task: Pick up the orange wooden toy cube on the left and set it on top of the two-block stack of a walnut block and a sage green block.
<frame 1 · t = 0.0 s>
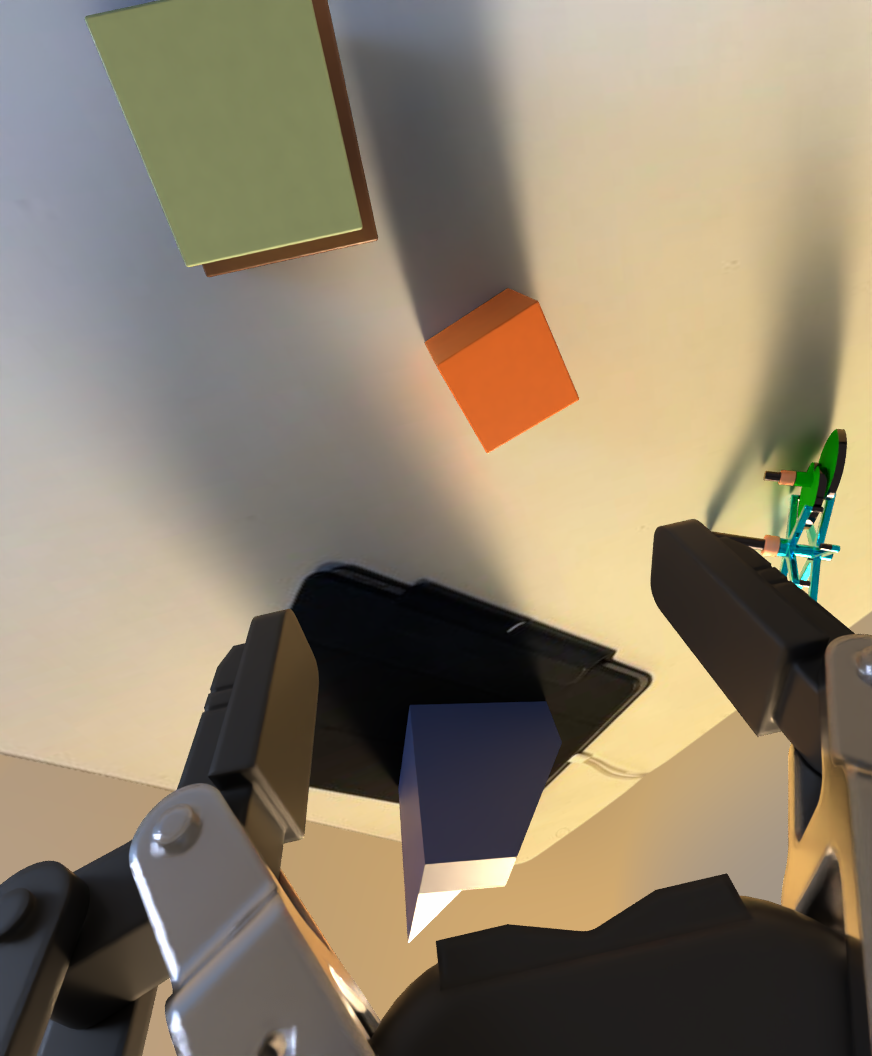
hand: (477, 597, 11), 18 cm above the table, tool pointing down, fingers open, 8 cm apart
stick construction toy: (760, 503, 34), on the table
walnut block: (276, 161, 21), on the table, touching green block
toy cube: (487, 357, 26), on the table
phone stand: (468, 744, 45), on the table
green block: (259, 149, 17), point 4 cm above the table, touching walnut block
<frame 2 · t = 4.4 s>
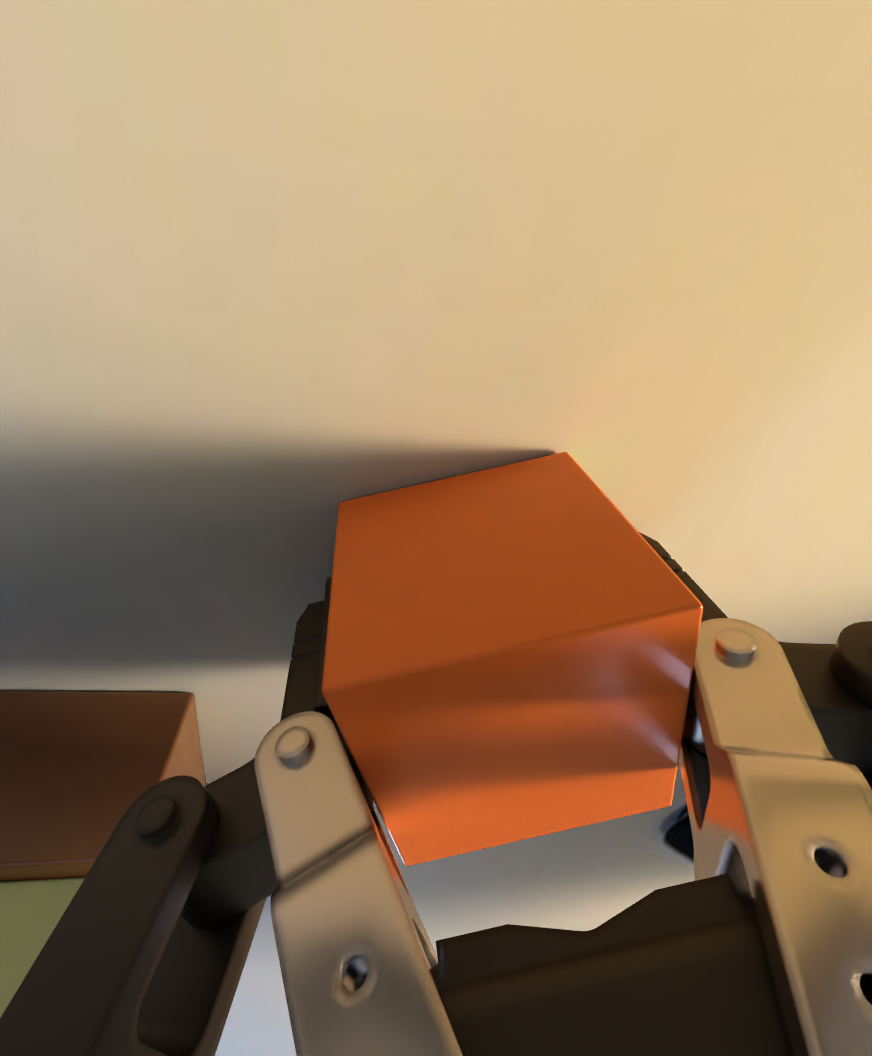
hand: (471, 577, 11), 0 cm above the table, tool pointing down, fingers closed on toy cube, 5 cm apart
walnut block: (72, 773, 14), on the table, touching green block
toy cube: (469, 567, 12), on the table, touching gripper
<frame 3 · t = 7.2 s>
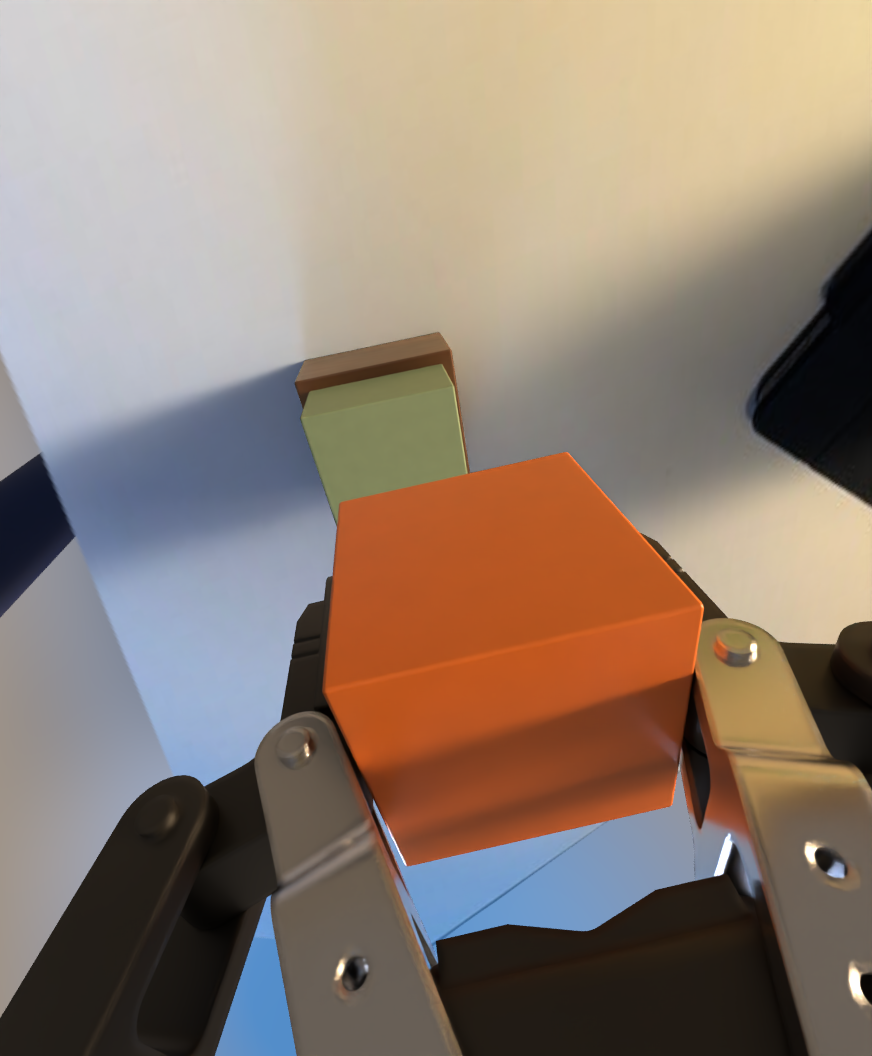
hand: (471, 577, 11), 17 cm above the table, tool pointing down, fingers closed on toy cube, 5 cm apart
walnut block: (387, 412, 26), on the table, touching green block
toy cube: (469, 567, 12), point 17 cm above the table, touching gripper
green block: (390, 439, 23), point 4 cm above the table, touching walnut block
when the fingers open (8 cm above the table, at t = 9.9 s): toy cube stays where it is, resting on green block.
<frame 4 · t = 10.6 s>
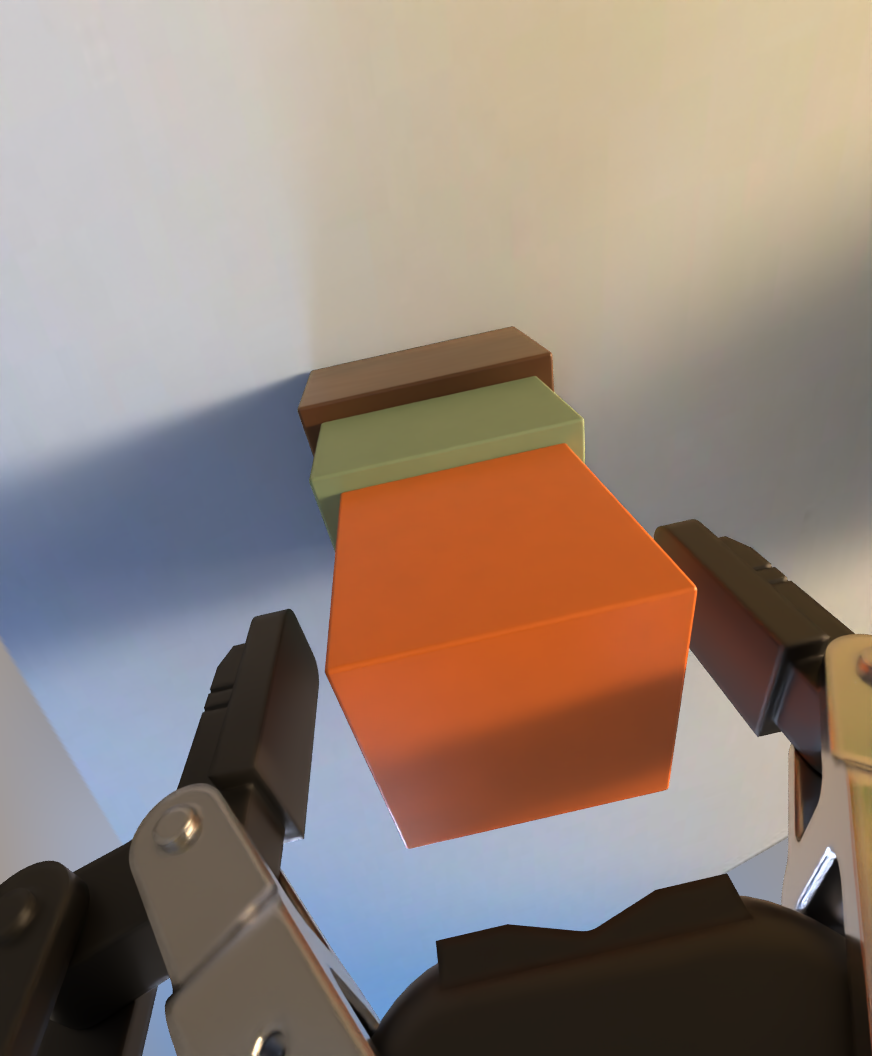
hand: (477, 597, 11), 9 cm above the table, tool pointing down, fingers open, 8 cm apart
walnut block: (431, 443, 18), on the table, touching green block
toy cube: (469, 557, 12), point 8 cm above the table, touching green block
green block: (446, 493, 15), point 4 cm above the table, touching toy cube, walnut block
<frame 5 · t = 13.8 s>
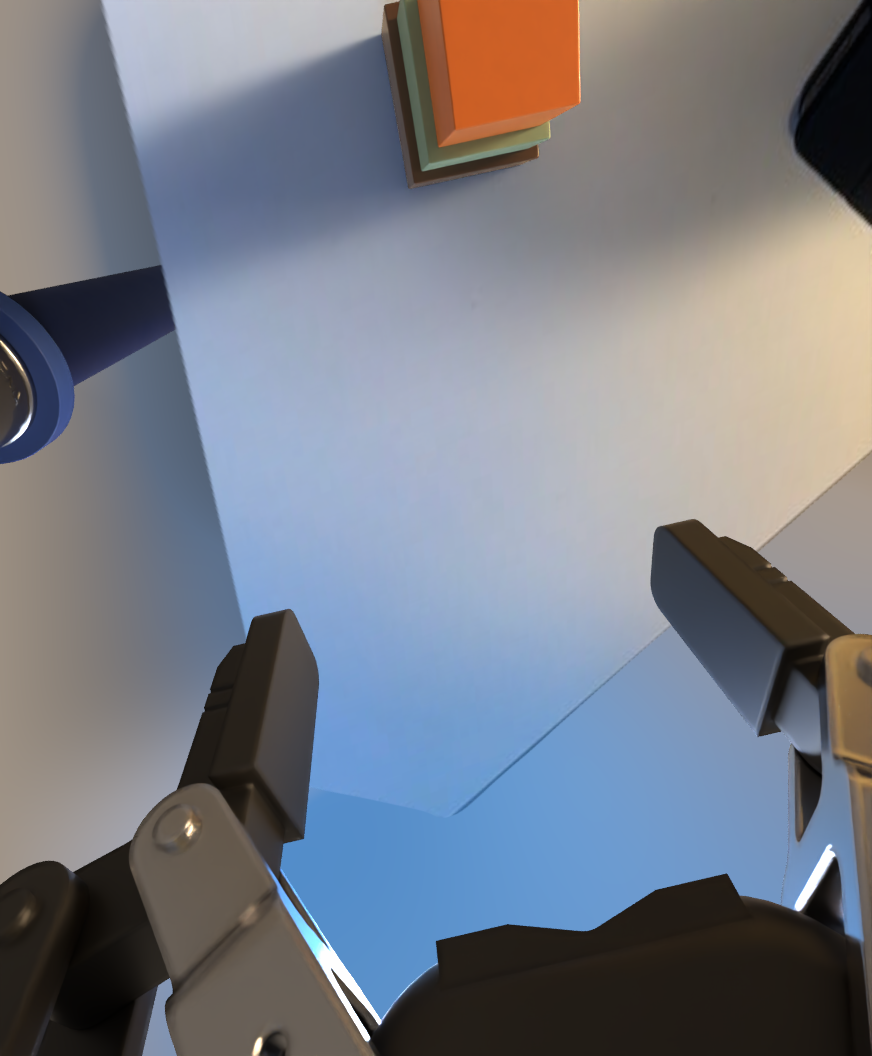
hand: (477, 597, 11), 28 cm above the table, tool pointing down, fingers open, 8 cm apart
walnut block: (455, 103, 28), on the table, touching green block
toy cube: (482, 66, 22), point 7 cm above the table, touching green block
green block: (467, 86, 25), point 4 cm above the table, touching toy cube, walnut block
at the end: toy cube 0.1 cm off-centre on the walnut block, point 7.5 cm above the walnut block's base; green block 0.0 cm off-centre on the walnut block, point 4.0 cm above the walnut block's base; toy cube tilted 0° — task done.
